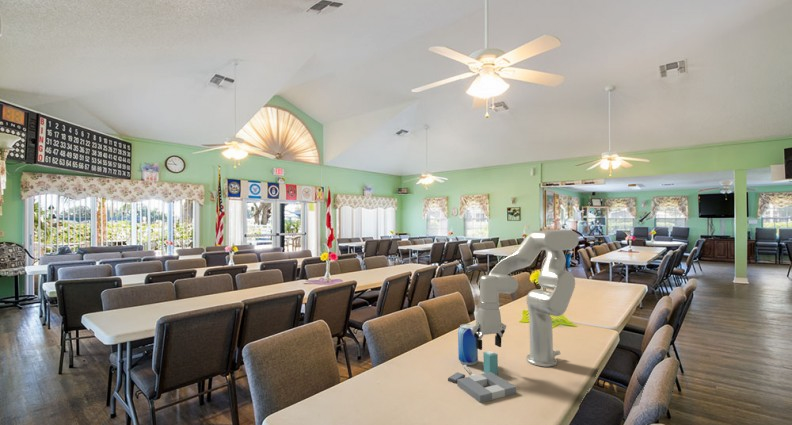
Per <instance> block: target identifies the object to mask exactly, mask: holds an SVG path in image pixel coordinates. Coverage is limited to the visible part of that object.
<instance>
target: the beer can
mask: <svg viewBox="0 0 792 425" xmlns="http://www.w3.org/2000/svg"><path fill="white" fill-rule="evenodd" d="M474 326H475V325H474V324H471V323H462V324H460V325H459V328H458V330H457V336H458V339H457V342H458V347H457V348H458V360H459V362H460V363H461V365H466V366H475V365H476V364H477V362H478V361H479V352H478V350H479V349H478V348H476V338H475V337H474V336H473V333H472V332H471V328H472V327H474ZM476 333H477V332H476Z"/></svg>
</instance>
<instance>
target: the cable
mask: <svg viewBox="0 0 792 425" xmlns="http://www.w3.org/2000/svg"><path fill="white" fill-rule="evenodd" d="M462 368H463V369H465V370H466V371H467V373H468V374H469V375H470V376H475V375H476V374H474V373H472V371H471V370H470V369H469V368H468V365H464V364H462Z"/></svg>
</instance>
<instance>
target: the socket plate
mask: <svg viewBox="0 0 792 425" xmlns="http://www.w3.org/2000/svg"><path fill="white" fill-rule="evenodd" d="M474 375H475V376H471V375H470V376H467V377H466V376H465V378H461V379H457V383H456V386H457V387H459V388H460V389H461V390H462V391H463V392H465V393H467V394H468V395H469V396H471V397H472V398H473V399H475V400H476V401H477V402H478V403H484V402H485V403H486V402H488V401H493V400H495V399H500V398H504V397H507V396H511V395H514V394H517V386H515V385H514V384H513V383H511V382H509V381H507V380H506V379H504V378H502V377H501V376H498V374H494V373H492V372H488V373H485V372H483V373H479V374H474ZM485 386H486V387H485Z"/></svg>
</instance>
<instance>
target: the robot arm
mask: <svg viewBox="0 0 792 425" xmlns="http://www.w3.org/2000/svg"><path fill="white" fill-rule="evenodd" d="M579 241H580V239H579V236H578V233H577V232H576V231H574V230H571V229H547V230H532V231H530V232H529V233H528V234H527V235H526V237H525V238H524V239H523V240H522V241H521V243H520V245H518V247H517V248H516V250H515V251H514V252H512V254H510V255H508V256H506V257H505V258H504V259H501V260H500V261H499V262H498V263H496V264H495V266H493V268H492V269H491V270H490V272H489V273H488V274H487V275H486V274H485V275H482V276H481V277H480V278H479V279H480V280H479V287H480V288H479V308H478V309H477V312H476V316H475V325H474V327H472V328H471V332H472V333H473V336H474V337H475V338H476V348H478V350H479V351H482V350H483V340H482V338H483V337H484V336H487V335H495V336H494V345H495V346H497V347H499V348H502V338H503V336H504V334H505V332H506V330H507V325H506V324H504V323H503V322H502V318H501V316H502V315H501V310H500V305H501V302H500V301H499V300H500V299H499V297H500V296H499V295H500V294H508V295H509V294H513V293H515V292H516V291H517V290H518V288H519V282H518V280H517V279H516V278H515V277H513V276H512V275H509V274H510V273H512V272H514V271H517V270H521V269H522V270H523V269H525V268H528V267H530V266H531V265H532V264H533V262H534V261H535V259H536V258H537V257H538V256H539V254H540V253H541V252H542V251H545V253H546V254H545V255H546V256H545V260H544V263H543V265H542V268H541V270H540V272H539V275H538V278H537V282H538V285H539V286H540V287H542V288H543V289H537V288H535V289H531V290H530V291H528V293H527V296H526V300H525V301H526V305H527V311H528V317H529V318H528V319H529V320H528V321H529V323H528V325H529V354H527V355H526V357H525V358H526V361H527V363H529V364H532V365H535V366H536V367H537V366H538V367H545V368H546V367H547V368H548V367H549V368H550V367H555V366H556V365H557V364H558V360H557V359H556V358H555V357H556V356H559V355H561V351H560V350H554V342H553V340H554V338H553V335H554V334H553V319H552V316H553V317H560V316H563V315H564V314H565V312H566V311H567V309H568V307H569V303H570V301H571V298H572V296H573V294H574V291H575V288H576V279H575V276H574V275H573V273H572V272H571V271H568V270H565V267H566V263H567V262H566V261H567V259H566V255H565V254H564V251H568V250H569V251H570V250H574V249H575V248H576V247H577V246H578V245H579ZM544 289H546V290H544ZM548 290H550V291H548ZM551 291H552V292H551ZM476 332H477V333H476Z"/></svg>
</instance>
